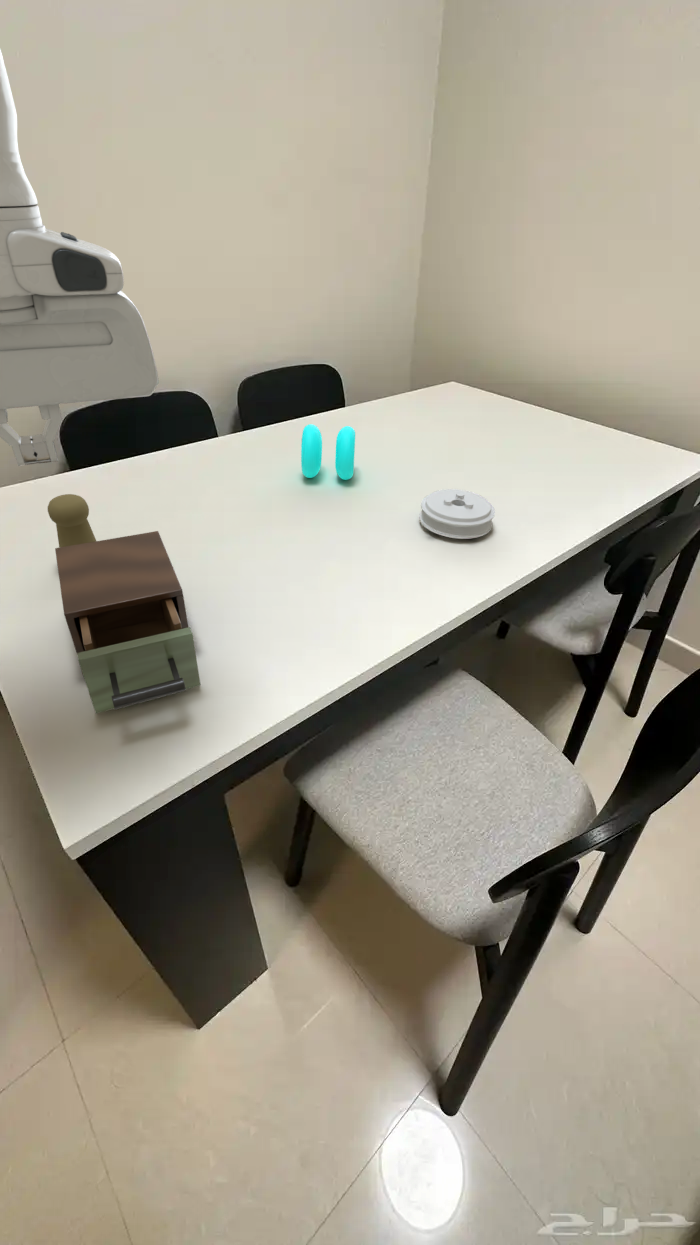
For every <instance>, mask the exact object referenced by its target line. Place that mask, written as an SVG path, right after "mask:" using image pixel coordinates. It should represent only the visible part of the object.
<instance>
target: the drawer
mask: <svg viewBox="0 0 700 1245" xmlns="http://www.w3.org/2000/svg"><path fill="white" fill-rule="evenodd" d="M79 620H80V626H81V632H82V638H83V644H84V647H85V651H84V652H80V653H77V652H76V655H77V661H78V663H79V666H80V670H81V673H82V676H83V679H84V682H85V685H86V688H87V692H88V695H89V697H90V700H91V704H92V706H93V709H94V712H95V714H101V713H103V712H107V711H110V710H118V709H123V708H126V707H130V706H133V705H138V704H141V703H145V702H149V701H153V700H156V699H159V698H163V697H167V696H171V695H175V694H178V693H181V692H186V690H189V689H192V688H196V687H200V686H201V679H200V672H199V666H198V660H197V654H196V647H195V641H194V634H193V631H192V629H191V626H188V628H184V629H182V626H181V622H180V619H179V617H178V614H177V611H176V609H175V606H174V603H173V601H172V598H166V599H162V600H157V601H152V602H147V603H143V604H138V605H133V606H128V607H124V608H119V609H114V610H109V611H105V612H100V613H95V614H90V615H86V616H81V617H79Z"/></svg>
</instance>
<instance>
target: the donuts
mask: <svg viewBox="0 0 700 1245" xmlns="http://www.w3.org/2000/svg"><path fill="white" fill-rule="evenodd" d="M335 441H336V442H335V457H334V458H335V459H334V460H335V461H334V466H335V471H336V474H337V476H338V477H339V478H340V479H341V480H345V481H348V480H350V479H351V478H353V476H354V472H355V454H356V452H355V451H356V431H355V429H354V428H353V427H352V426H349V425H346V426H343V427H342V428H341V429H340V430H339V431H338V433H337V435H336V440H335ZM300 450H301V451H300V456H301V457H300V462H301V463H300V464H301V467H300V468H301V472H302V475H303V476H304V477H305V478H307V479H312V478H315V477H316V476H317V475H318V474H319V472H320V471H321V467H322V460H323V459H322V458H323V437H322V433H321V431H320V429H319V427H318V426H317V425H315V424H313V423H310V424H307V425H305V426H304V428H303V429H302V434H301V449H300Z"/></svg>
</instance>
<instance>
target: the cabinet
mask: <svg viewBox="0 0 700 1245" xmlns="http://www.w3.org/2000/svg"><path fill="white" fill-rule="evenodd" d="M54 550H55V558H56V565H57V566H56V567H57V573H58V581H59V587H60V588H59V589H60V594H61V603H62V609H63V615H64V619H65V622H66V624H67V629H68V631H69V634H70V637H71V640H72V642H73V647H74V649H75V652H76V654H77V653H80V652H84V651H85V647H84V644H83V638H82V632H81V626H80V620H79V617H81V616H86V615H90V614H95V613H100V612H105V611H109V610H114V609H119V608H124V607H128V606H133V605H138V604H143V603H147V602H152V601H157V600H162V599H166V598H172V601H173V603H174V606H175V609H176V611H177V614H178V617H179V619H180V622H181V626H182V629H184V628H188V627H189V621H188V616H187V610H186V604H185V603H186V602H185V597H184V592H183V591H184V590H183V588H182V585H181V583H180V580H179V578H178V576H177V574H176V571H175V569H174V566H173V564H172V561H171V558H170V556H169V554H168V552H167V549H166V546H165V544H164V541H163V540H162V537H161V535H160V532H159V530H155V531H149V532H143V533H137V534H131V535H126V536H120V537H114V538H108V539H102V540H96V541H95V542H90V543H84V544H78V545H72V546H66V547H60V548H59V547H56V548H54Z"/></svg>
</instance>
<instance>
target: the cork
mask: <svg viewBox="0 0 700 1245" xmlns="http://www.w3.org/2000/svg"><path fill="white" fill-rule="evenodd" d="M47 513H48V516H49V519H51V521H52V522H53V523H55V527H56V533H57V542H58V548H60V547H66V546H72V545H78V544H84V543H90V542H95V541H97V538H96V537H95V534H94V531H93V529H92V527H91V524H90V522H89V520H88V517H89V514H90V508H89V505H88V502H87V501H86V500H85V499H84V498H83V496H81V495H78V494H72V493H67V494H60V495H57V496H55V497H53V498H52V499H50V500H49V502H48V505H47Z"/></svg>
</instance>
